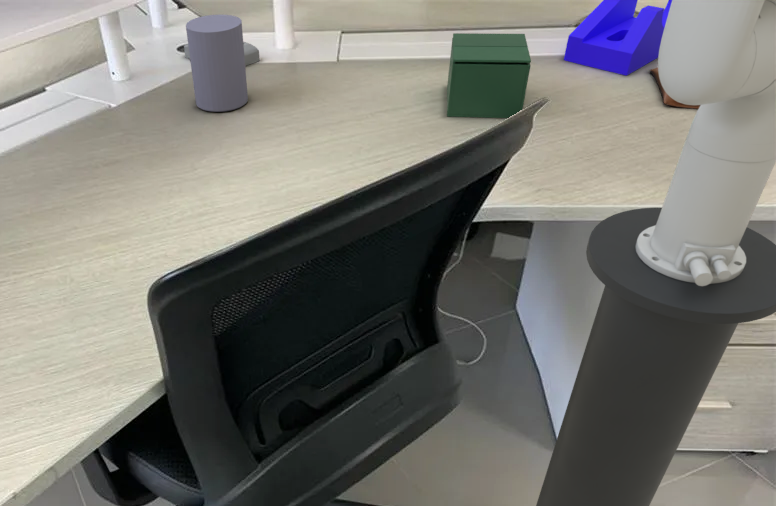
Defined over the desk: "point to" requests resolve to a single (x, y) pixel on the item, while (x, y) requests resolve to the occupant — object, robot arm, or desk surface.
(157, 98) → the desk surface
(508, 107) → the carton
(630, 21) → the bracket
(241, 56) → the container
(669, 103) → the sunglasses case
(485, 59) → the flap
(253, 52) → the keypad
